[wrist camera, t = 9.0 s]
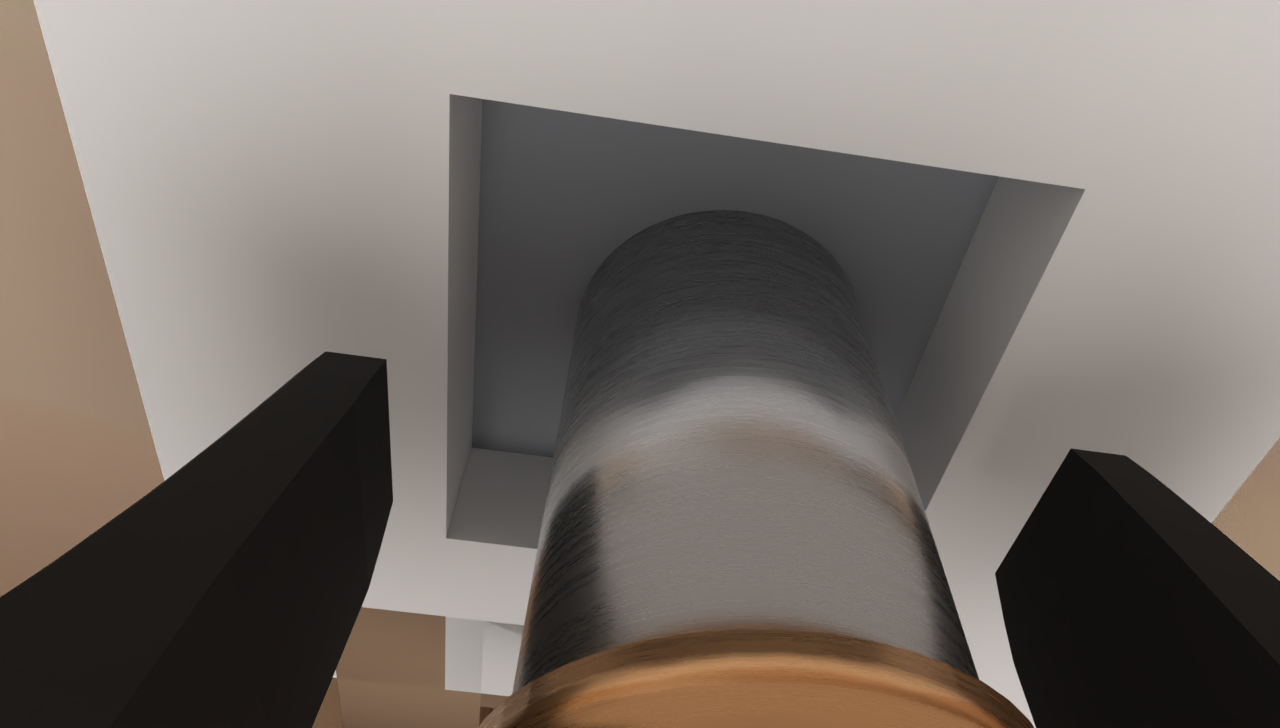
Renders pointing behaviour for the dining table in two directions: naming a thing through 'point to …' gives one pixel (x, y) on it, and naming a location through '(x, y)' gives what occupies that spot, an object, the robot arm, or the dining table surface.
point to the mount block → (403, 675)
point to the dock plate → (680, 184)
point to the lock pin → (735, 508)
